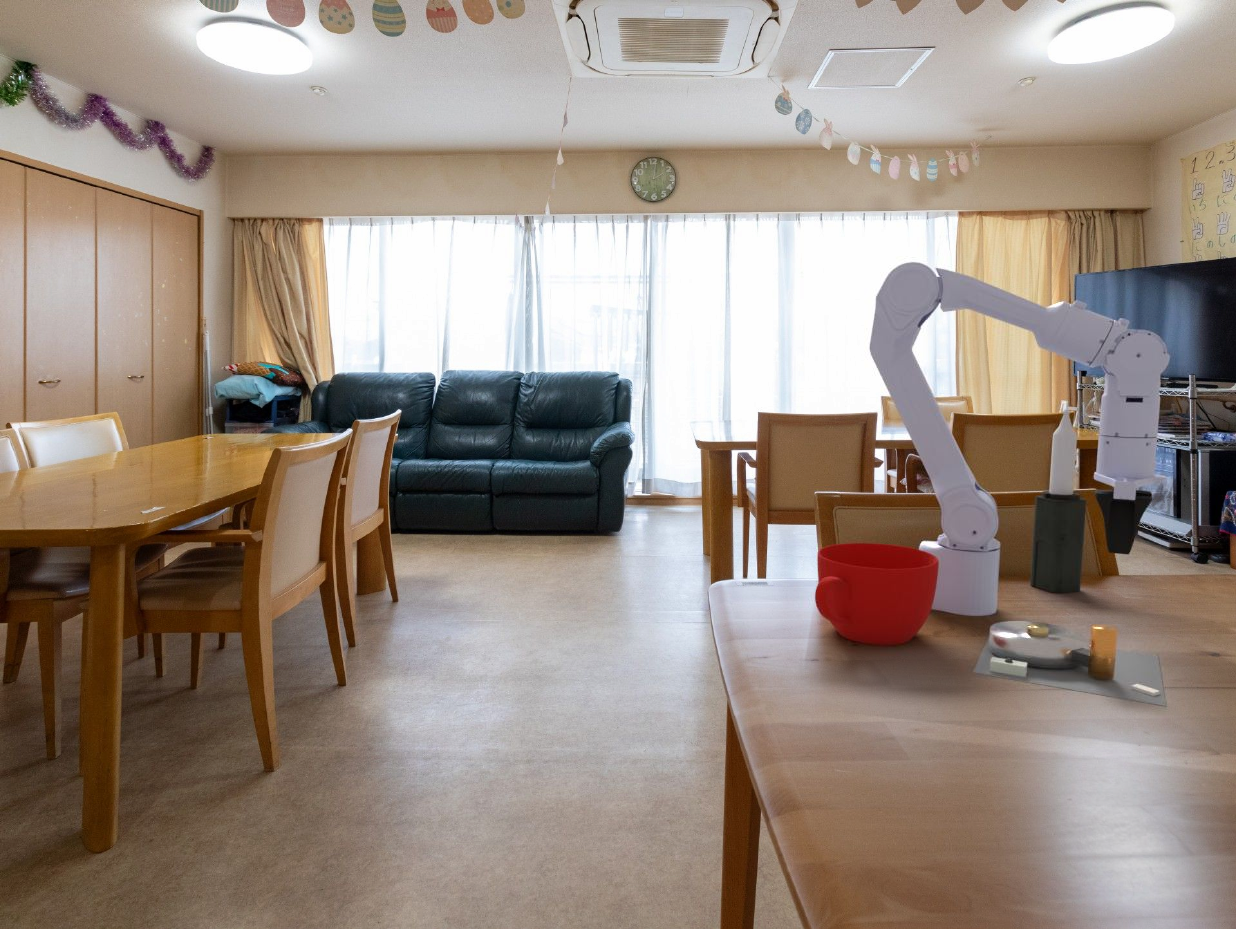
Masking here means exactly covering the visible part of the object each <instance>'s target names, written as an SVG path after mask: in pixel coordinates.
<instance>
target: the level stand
mask: <svg viewBox="0 0 1236 929" xmlns="http://www.w3.org/2000/svg"><path fill="white" fill-rule="evenodd" d="M989 636H990V634H989V635H988V638H987V639H986V642H985V644H984V647H983V649H982V651H981V653H980V655H979V657H978V659H977V661H976V663H975V667H974V668H973V670H972V673H973V674H977V675H983V676H989V677H994V678H999V679H1005V680H1012V681H1018V682H1023V683H1029V684H1035V685H1041V686H1045V687H1046V686H1047V687H1051V688H1057V689H1063V690H1067V691H1068V690H1069V691H1074V692H1075V691H1076V692H1080V693H1086V694H1092V695H1098V696H1103V697H1109V698H1114V699H1120V700H1121V699H1122V700H1126V701H1131V702H1138V703H1143V704H1149V705H1154V706H1161V707H1167V704H1166V703H1167V702H1166V697H1165V691H1164V685H1163V678H1162V677H1163V676H1162V671H1161V665H1160V660H1159V655H1157V654H1150V653H1143V652H1137V651H1131V650H1124V649H1117V648H1116V658H1115V671H1114V678H1113V679H1100V678H1096V677H1093V676H1090V675H1089V674H1088V667H1085V666H1082V665H1080V666H1077V667H1072V668H1043V667H1035V666H1029V665H1027V663H1026V662H1020V661H1014V660H1011V659H1010V658H1007V659H1004V658H1001V657H999V656H997V655H996V654H994V653H993V652H992V651H991V650H990V649H989ZM1086 649H1088V650H1090V644H1086Z"/></svg>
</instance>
